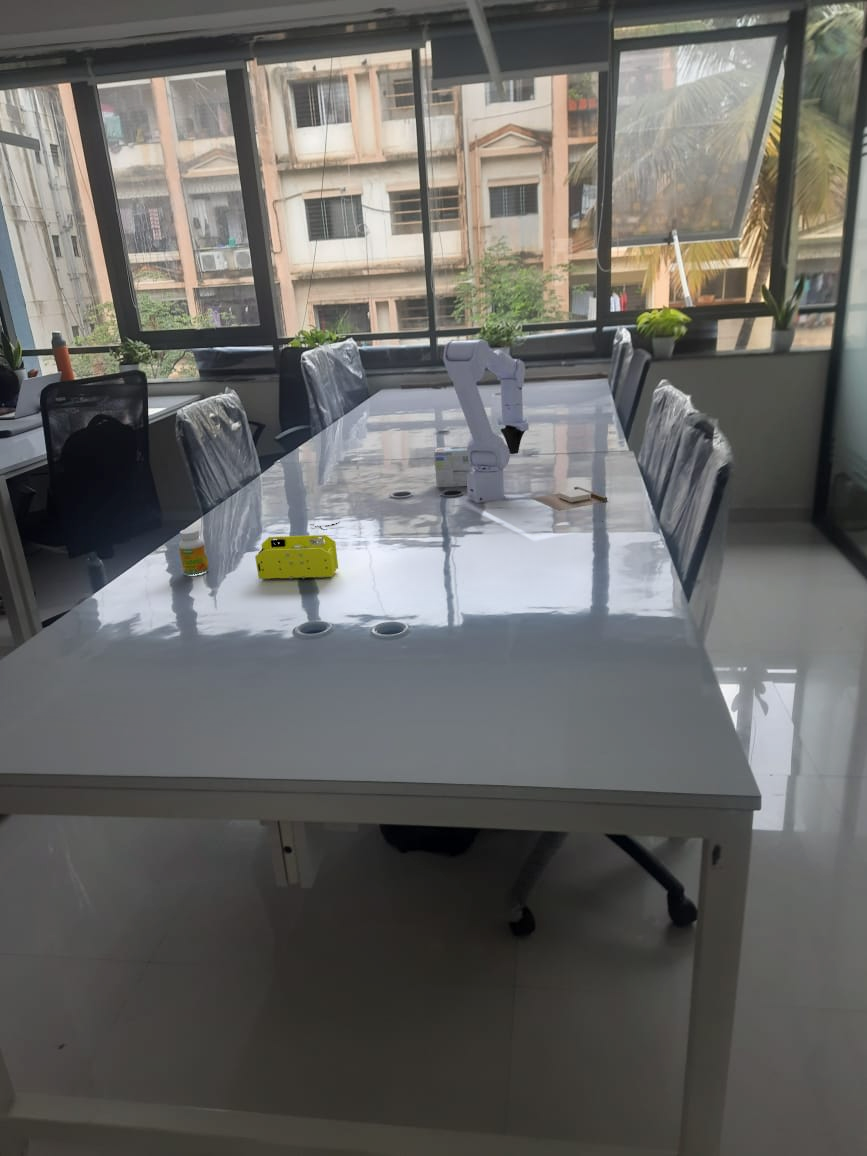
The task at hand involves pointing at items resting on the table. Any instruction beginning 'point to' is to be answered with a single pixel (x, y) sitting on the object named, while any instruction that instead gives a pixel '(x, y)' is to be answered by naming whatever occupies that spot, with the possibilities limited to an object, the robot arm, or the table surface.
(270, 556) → the yellow toy chassis
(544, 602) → the table surface
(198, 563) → the supplement bottle
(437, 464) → the light bulb box
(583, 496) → the tile
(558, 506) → the board
